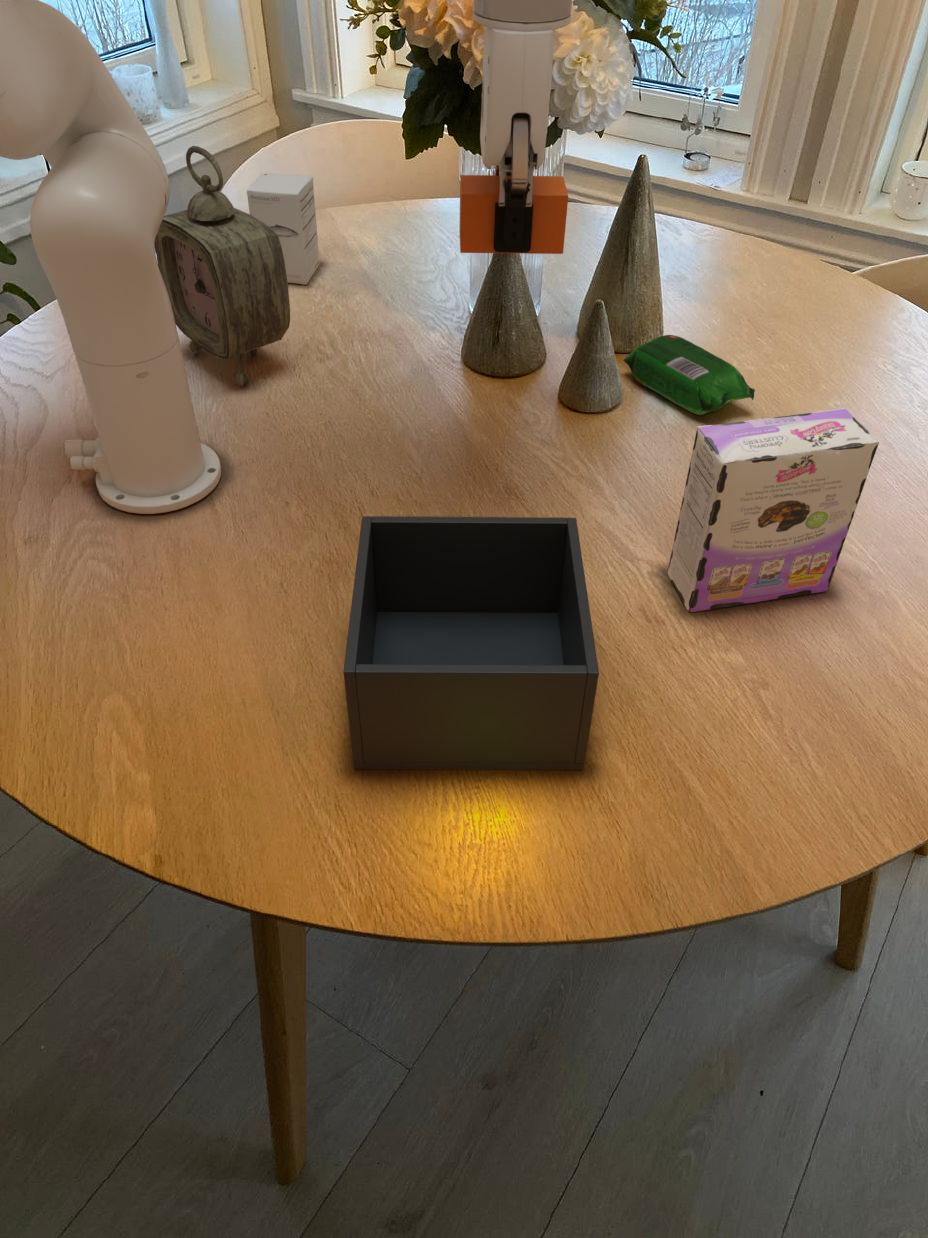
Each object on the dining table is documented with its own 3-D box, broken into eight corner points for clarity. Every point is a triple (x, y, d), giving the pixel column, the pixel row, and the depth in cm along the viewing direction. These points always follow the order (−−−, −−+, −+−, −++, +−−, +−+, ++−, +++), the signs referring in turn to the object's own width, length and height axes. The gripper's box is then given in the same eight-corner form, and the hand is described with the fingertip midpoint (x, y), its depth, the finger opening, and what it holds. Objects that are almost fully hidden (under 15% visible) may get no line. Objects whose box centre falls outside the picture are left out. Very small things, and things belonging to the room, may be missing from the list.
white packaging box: (256, 281, 135) (243, 189, 127) (272, 260, 141) (261, 170, 132) (307, 286, 134) (297, 193, 126) (321, 264, 140) (313, 174, 131)
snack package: (709, 434, 108) (719, 393, 104) (616, 375, 117) (622, 336, 113) (752, 416, 111) (763, 375, 107) (658, 360, 120) (665, 321, 117)
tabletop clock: (176, 352, 120) (131, 138, 103) (238, 330, 125) (204, 122, 107) (239, 397, 112) (202, 175, 95) (302, 372, 117) (278, 155, 100)
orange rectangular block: (460, 252, 84) (461, 193, 80) (459, 232, 87) (460, 174, 83) (563, 253, 84) (568, 195, 80) (558, 233, 87) (563, 175, 84)
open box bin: (353, 769, 73) (343, 672, 66) (369, 612, 86) (362, 515, 78) (583, 770, 73) (599, 673, 66) (565, 613, 86) (576, 517, 79)
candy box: (799, 554, 93) (847, 404, 81) (828, 594, 88) (884, 441, 77) (664, 573, 90) (695, 421, 79) (688, 614, 86) (724, 461, 75)
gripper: (470, -26, 79) (465, 202, 91) (476, 23, 66) (470, 279, 79) (561, -24, 79) (544, 203, 91) (584, 25, 66) (561, 280, 79)
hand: (510, 236), depth 85 cm, fingers closed on orange rectangular block, 4 cm apart
